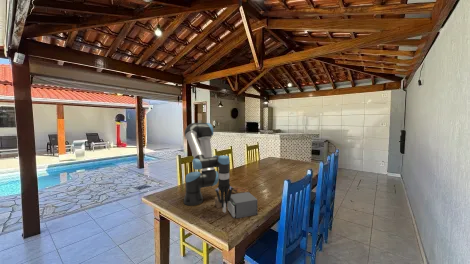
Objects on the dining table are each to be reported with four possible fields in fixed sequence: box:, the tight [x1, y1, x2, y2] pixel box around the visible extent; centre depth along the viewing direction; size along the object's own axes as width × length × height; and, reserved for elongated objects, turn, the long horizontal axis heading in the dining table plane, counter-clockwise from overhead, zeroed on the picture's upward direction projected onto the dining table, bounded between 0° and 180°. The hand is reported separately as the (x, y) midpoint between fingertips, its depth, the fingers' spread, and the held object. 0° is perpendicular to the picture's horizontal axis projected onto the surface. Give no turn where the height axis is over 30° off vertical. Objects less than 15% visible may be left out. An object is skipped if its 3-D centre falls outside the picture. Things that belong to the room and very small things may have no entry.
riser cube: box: [214, 195, 225, 209], centre depth 146 cm, size 6×6×6 cm
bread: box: [227, 185, 251, 197], centre depth 159 cm, size 19×11×10 cm, turn 59°
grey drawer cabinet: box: [230, 191, 258, 219], centre depth 137 cm, size 15×16×10 cm
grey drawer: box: [227, 201, 236, 218], centre depth 136 cm, size 13×16×7 cm
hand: (224, 211), depth 133 cm, fingers closed
